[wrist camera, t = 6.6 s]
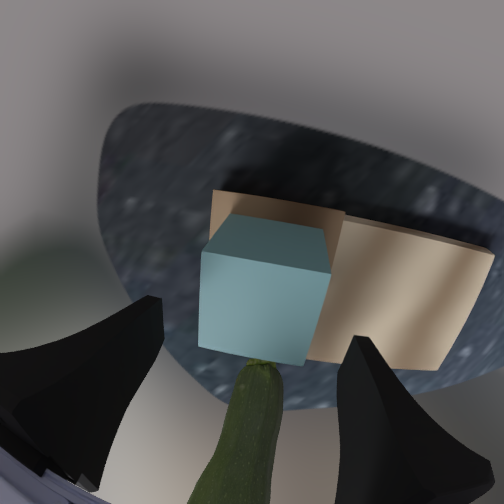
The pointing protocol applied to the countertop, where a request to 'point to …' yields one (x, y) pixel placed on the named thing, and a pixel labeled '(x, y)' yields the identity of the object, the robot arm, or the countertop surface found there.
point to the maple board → (380, 281)
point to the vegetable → (245, 440)
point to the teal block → (262, 288)
